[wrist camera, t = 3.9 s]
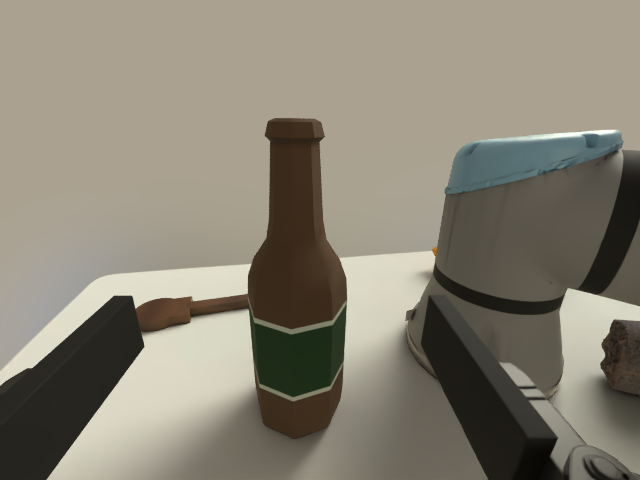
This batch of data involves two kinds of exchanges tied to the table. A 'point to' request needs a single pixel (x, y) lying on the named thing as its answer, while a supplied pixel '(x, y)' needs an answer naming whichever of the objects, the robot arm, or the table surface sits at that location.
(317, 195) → the beer bottle
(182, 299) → the wooden spoon
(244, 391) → the table surface
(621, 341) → the perforated stone tool
